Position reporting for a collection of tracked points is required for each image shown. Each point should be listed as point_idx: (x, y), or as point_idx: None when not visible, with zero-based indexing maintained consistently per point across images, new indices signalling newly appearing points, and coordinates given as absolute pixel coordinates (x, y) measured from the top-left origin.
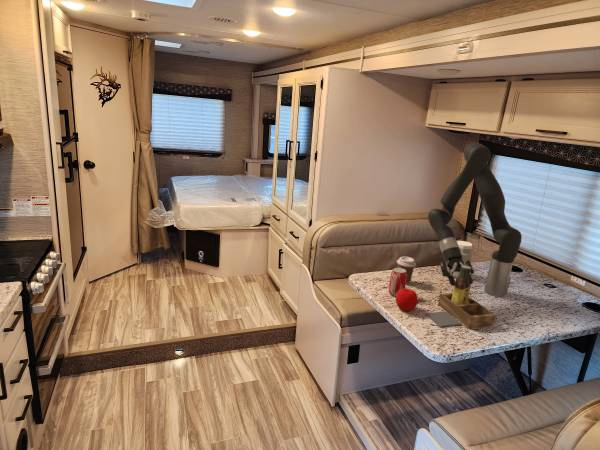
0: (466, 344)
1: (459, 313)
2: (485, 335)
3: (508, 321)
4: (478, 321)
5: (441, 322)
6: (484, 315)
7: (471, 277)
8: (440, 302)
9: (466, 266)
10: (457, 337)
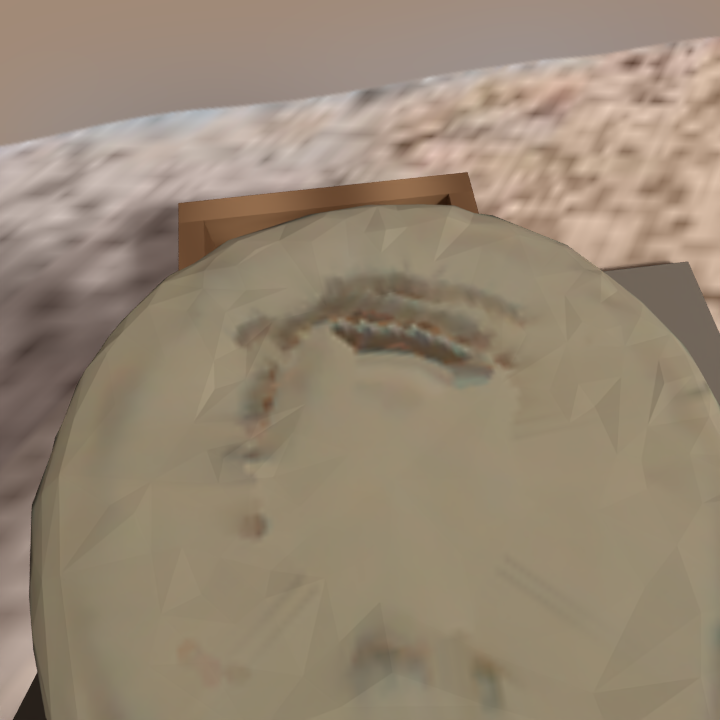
0: (557, 96)
1: None
2: (363, 169)
3: (4, 331)
4: None
5: (660, 307)
6: (303, 200)
7: (36, 682)
8: None
9: (329, 575)
10: (587, 157)
